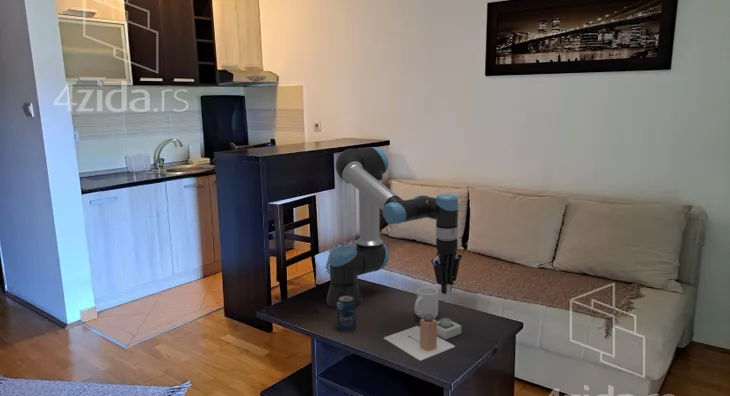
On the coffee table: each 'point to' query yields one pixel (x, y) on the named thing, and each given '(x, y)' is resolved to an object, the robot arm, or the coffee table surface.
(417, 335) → the paper
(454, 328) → the button housing
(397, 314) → the coffee table surface
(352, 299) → the soda can
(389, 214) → the robot arm
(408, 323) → the coffee table surface
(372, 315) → the coffee table surface
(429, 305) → the mug
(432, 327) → the block with dark dome
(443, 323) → the button
